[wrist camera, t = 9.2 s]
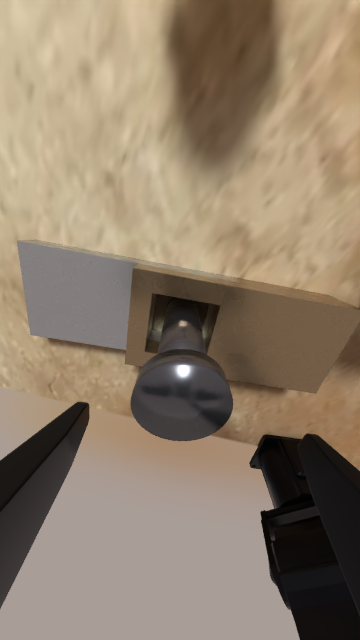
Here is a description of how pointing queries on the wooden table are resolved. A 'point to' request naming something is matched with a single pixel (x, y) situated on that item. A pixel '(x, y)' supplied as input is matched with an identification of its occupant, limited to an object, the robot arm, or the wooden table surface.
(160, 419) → the metal knob
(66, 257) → the tan and silver block
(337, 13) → the wooden table surface
